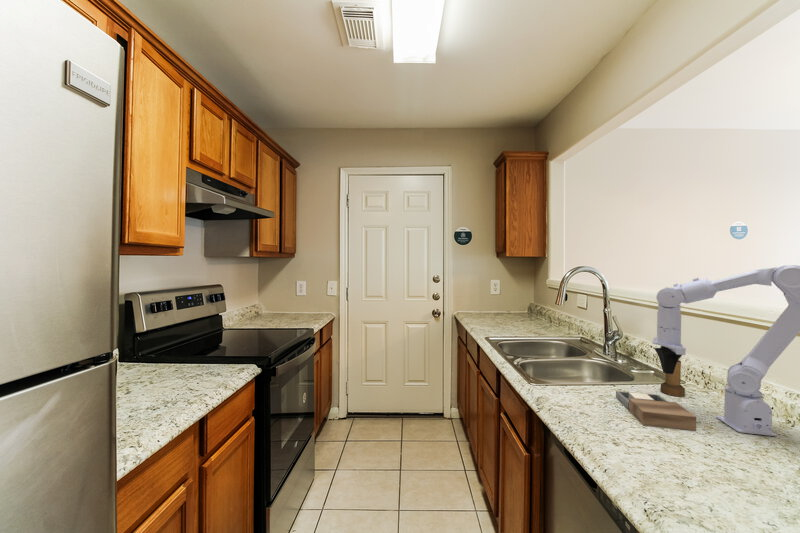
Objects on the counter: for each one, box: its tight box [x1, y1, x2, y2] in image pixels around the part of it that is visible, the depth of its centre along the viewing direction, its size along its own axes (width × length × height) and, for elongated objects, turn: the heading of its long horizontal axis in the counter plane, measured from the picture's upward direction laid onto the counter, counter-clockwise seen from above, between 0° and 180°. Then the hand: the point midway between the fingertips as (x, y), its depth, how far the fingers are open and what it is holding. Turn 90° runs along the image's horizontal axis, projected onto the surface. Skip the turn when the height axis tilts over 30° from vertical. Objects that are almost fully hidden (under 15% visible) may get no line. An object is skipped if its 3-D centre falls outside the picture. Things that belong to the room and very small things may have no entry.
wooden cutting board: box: [628, 398, 697, 431], centre depth 97 cm, size 10×12×4 cm
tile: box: [628, 391, 654, 400], centre depth 109 cm, size 5×5×2 cm
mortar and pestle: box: [660, 359, 686, 398], centre depth 118 cm, size 7×6×18 cm
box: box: [615, 390, 669, 410], centre depth 108 cm, size 10×12×2 cm
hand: (667, 373), depth 106 cm, fingers closed
